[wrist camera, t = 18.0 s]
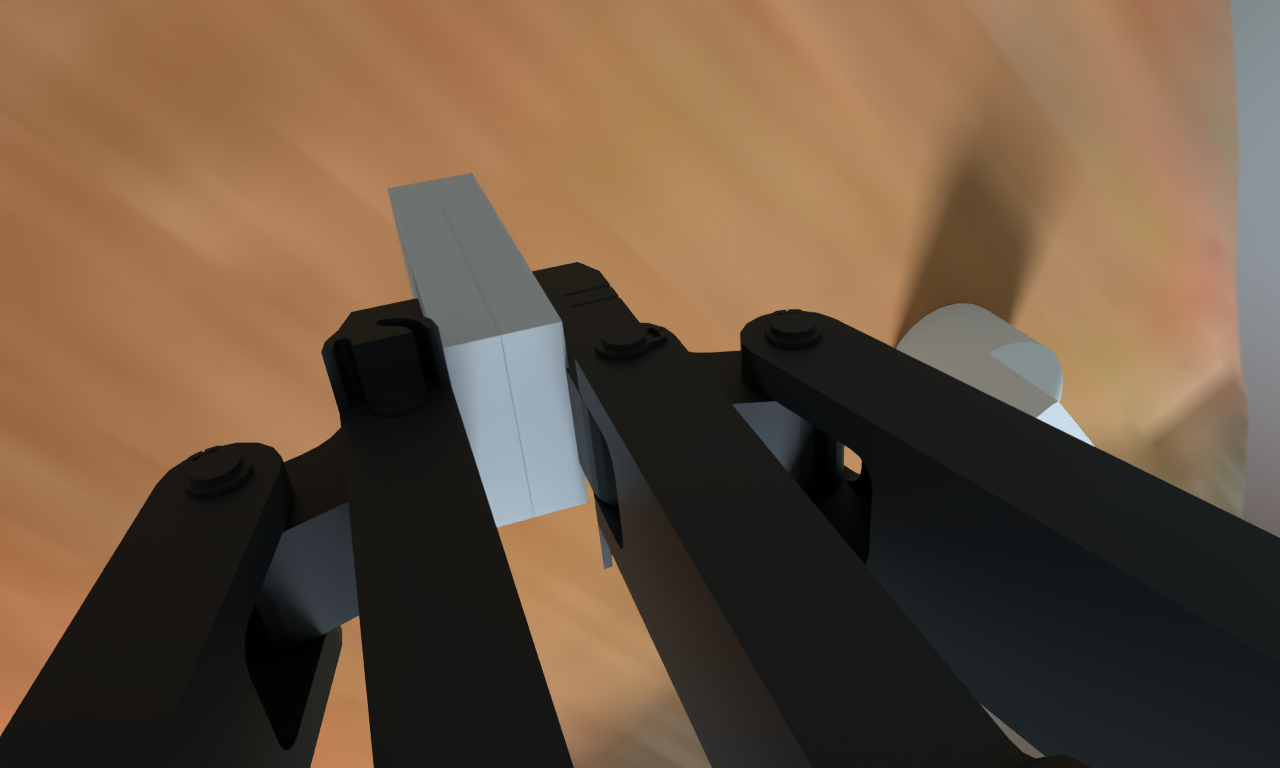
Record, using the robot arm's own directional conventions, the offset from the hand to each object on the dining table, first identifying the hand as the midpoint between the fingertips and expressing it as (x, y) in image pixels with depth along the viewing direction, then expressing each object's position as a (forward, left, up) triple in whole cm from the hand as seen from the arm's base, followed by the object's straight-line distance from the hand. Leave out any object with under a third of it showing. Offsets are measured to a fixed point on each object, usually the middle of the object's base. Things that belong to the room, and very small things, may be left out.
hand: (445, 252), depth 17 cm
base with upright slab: (+33, -26, -30) cm, 51 cm away
